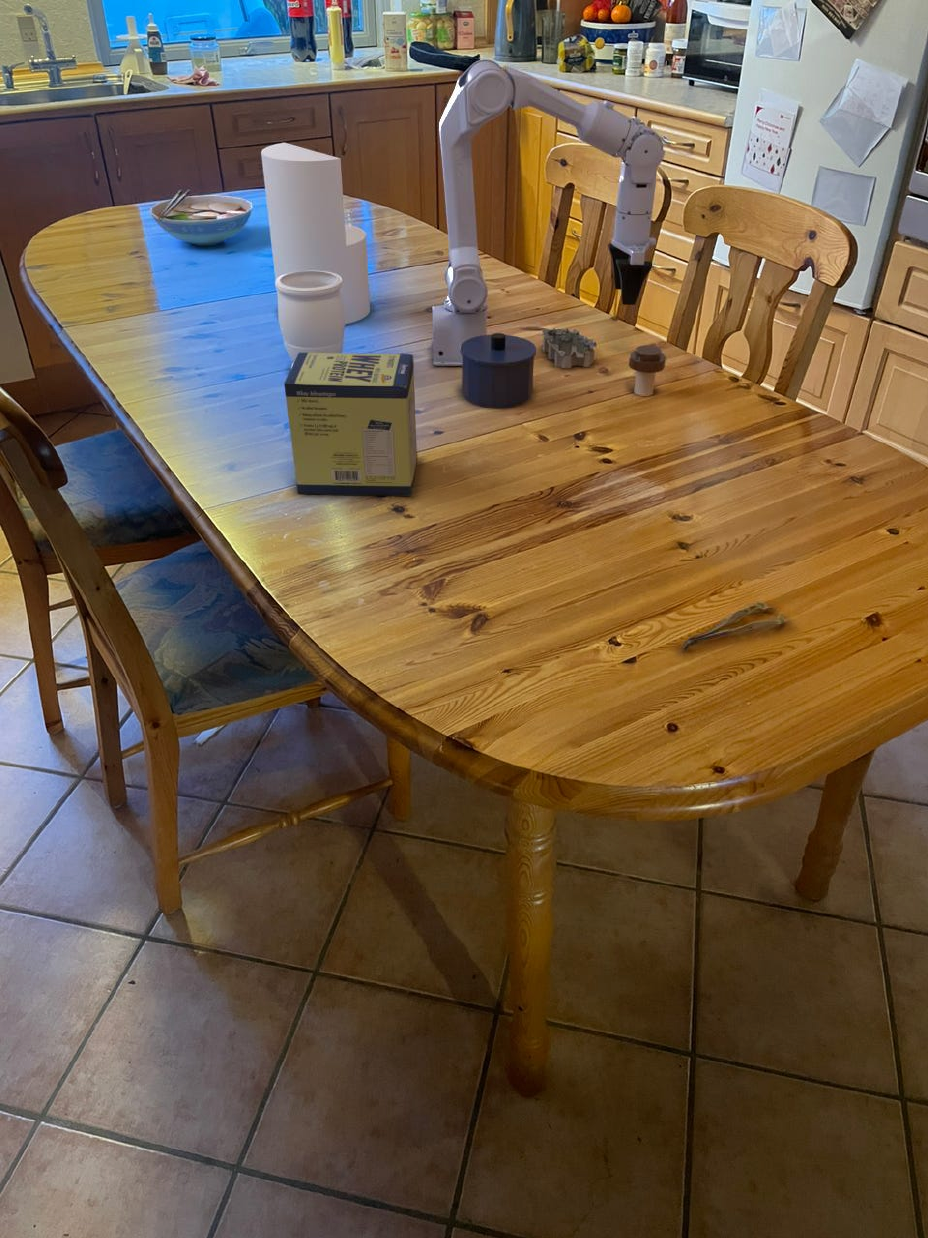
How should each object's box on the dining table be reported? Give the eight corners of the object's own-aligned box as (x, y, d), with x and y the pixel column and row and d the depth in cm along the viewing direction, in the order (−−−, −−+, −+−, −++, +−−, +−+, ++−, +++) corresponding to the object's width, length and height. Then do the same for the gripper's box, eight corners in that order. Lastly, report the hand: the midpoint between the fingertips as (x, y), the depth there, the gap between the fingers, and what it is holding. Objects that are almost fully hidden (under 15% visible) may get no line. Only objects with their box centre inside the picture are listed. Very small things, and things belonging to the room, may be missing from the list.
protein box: (307, 457, 133) (296, 350, 124) (418, 460, 133) (415, 352, 124) (294, 495, 125) (281, 383, 116) (412, 497, 125) (409, 385, 115)
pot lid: (461, 370, 142) (461, 350, 141) (458, 341, 152) (458, 321, 150) (539, 369, 143) (540, 349, 141) (532, 340, 152) (533, 321, 150)
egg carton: (597, 367, 160) (599, 344, 157) (553, 370, 159) (555, 346, 156) (580, 344, 168) (582, 321, 166) (538, 346, 167) (540, 323, 165)
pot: (463, 408, 147) (463, 365, 142) (461, 380, 155) (461, 338, 151) (534, 407, 147) (536, 364, 143) (528, 379, 156) (530, 337, 152)
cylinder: (312, 333, 172) (297, 165, 155) (262, 308, 182) (242, 148, 165) (388, 312, 181) (381, 151, 164) (336, 289, 191) (324, 136, 174)
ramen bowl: (245, 257, 208) (240, 218, 203) (141, 257, 208) (134, 217, 203) (266, 226, 228) (262, 190, 223) (171, 226, 228) (164, 189, 223)
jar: (358, 363, 161) (352, 273, 152) (332, 386, 153) (324, 293, 144) (302, 355, 164) (293, 266, 155) (273, 377, 156) (262, 285, 147)
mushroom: (629, 399, 150) (634, 356, 145) (623, 385, 154) (627, 343, 150) (664, 399, 150) (670, 356, 146) (657, 385, 154) (663, 343, 150)
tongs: (674, 645, 100) (677, 629, 99) (760, 610, 106) (764, 595, 105) (702, 666, 97) (705, 651, 96) (788, 630, 103) (793, 615, 102)
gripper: (668, 222, 145) (656, 310, 153) (650, 198, 157) (640, 282, 165) (622, 222, 145) (613, 311, 153) (608, 198, 156) (600, 282, 165)
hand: (624, 296), depth 159 cm, fingers open, 7 cm apart
